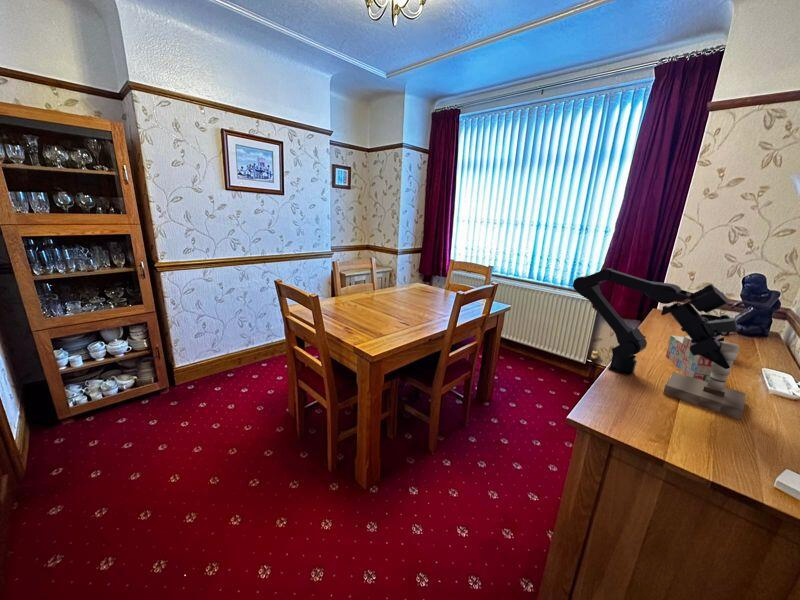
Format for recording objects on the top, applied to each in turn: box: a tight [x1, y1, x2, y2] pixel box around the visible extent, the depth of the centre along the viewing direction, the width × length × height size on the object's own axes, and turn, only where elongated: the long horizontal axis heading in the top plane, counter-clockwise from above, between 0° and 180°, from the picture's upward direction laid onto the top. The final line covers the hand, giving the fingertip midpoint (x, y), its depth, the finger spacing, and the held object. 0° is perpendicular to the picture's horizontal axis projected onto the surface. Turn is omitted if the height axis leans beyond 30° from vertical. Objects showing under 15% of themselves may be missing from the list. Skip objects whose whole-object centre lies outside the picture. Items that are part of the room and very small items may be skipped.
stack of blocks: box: [665, 334, 713, 382], centre depth 118 cm, size 21×6×12 cm, turn 162°
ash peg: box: [707, 340, 741, 391], centre depth 95 cm, size 4×4×14 cm
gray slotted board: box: [662, 371, 747, 420], centre depth 99 cm, size 17×14×3 cm
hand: (728, 366), depth 94 cm, fingers closed on ash peg, 4 cm apart
